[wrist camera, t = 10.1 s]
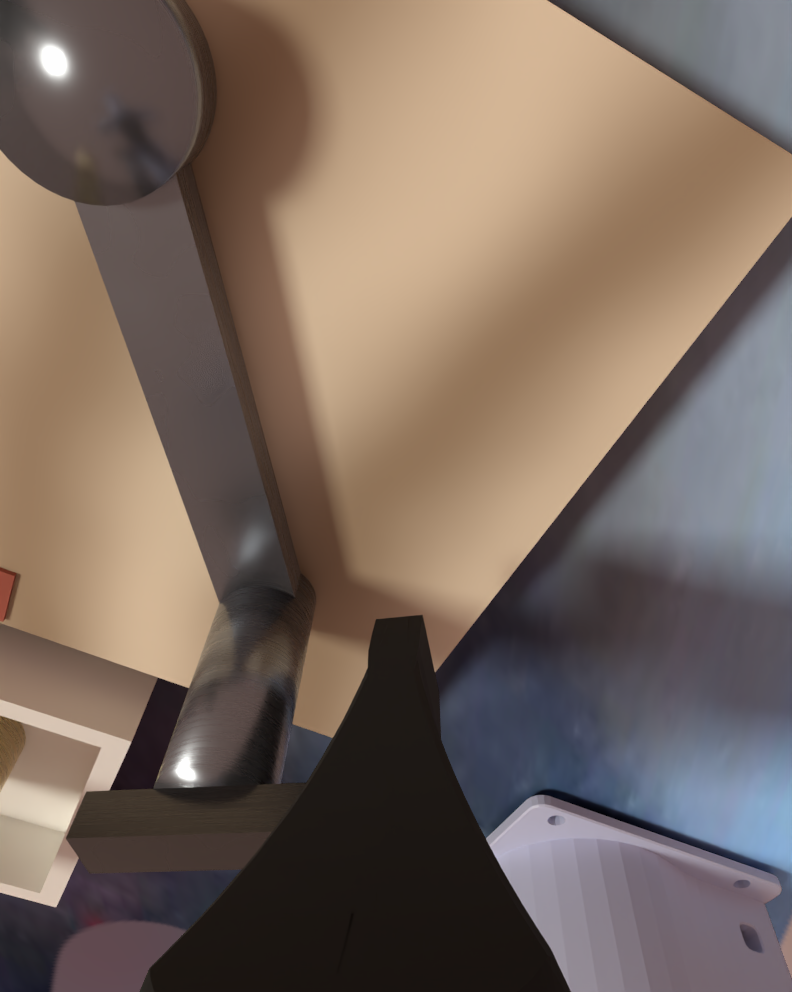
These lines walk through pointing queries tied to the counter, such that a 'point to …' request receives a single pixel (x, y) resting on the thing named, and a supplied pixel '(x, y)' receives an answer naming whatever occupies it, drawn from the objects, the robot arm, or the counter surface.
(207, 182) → the crank board
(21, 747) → the brass cylinder
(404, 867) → the robot arm
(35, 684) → the tray
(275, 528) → the crank
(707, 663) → the counter surface
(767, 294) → the counter surface
